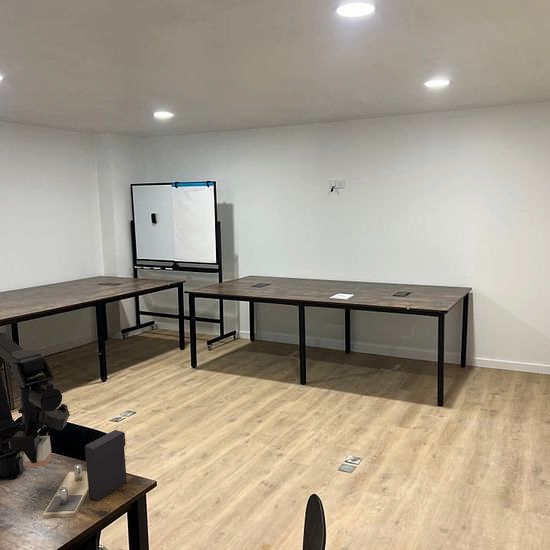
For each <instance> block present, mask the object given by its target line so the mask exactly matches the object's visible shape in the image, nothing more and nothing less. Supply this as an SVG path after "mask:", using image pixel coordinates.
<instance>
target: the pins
mask: <svg viewBox="0 0 550 550" xmlns="http://www.w3.org/2000/svg"><path fill="white" fill-rule="evenodd" d="M82 468H83V467H82V464H81V463H80V464H79V463H78V464H75V465H74V466H73V472H74V476H75V481H81V480H82V471H83V470H82ZM59 488H60V487H59ZM59 488H58V489H59ZM59 493H60V504H61V505H66V504H68V503H69V499H68V488H67V487H63V488H60V489H59Z"/></svg>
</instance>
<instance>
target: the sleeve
mask: <svg viewBox="0 0 550 550" xmlns="http://www.w3.org/2000/svg"><path fill="white" fill-rule="evenodd" d="M50 437H51V436H50V435H48V436H40V438H43V439H42V441H41V442H40V443H39V444H38V452H37V462H36V463H31V461H30V460H29V459H28V457H27V456H26V455H25V453H24V452H23V456H24V458H23V459H24V468H26V467H29V468H30V467H31V468H32V467H46V465H47V464H48V463H49V461H50V459H51V458H52V446H51V445H52V444H51V438H50Z"/></svg>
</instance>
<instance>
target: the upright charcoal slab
mask: <svg viewBox="0 0 550 550" xmlns="http://www.w3.org/2000/svg"><path fill="white" fill-rule="evenodd" d="M126 444H127V443H126V432H125V431H121V430H117V429H114V430H112V431H110V432H109V433H107V434H105V435H103V436H101V437H99V438H97V439H95V440H93V441H92V442H89V443H87V444H85V446H84V453H85V454H84V455H85V463H86V464H85V465H86V466H85V467H86V471H87V479H88V490H89V492H88V498H89V499H91V500H93V501H100V500H101V499H103V498H104V497H106V496H107V495H109V494H110V493H112V492H113V491H115V490H116V489H118V488H119V487H122V486H123V485H125V484H126V483H127V480H128V479H127V467H126V455H125V454H126V452H125V447H126Z"/></svg>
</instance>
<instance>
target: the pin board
mask: <svg viewBox="0 0 550 550" xmlns="http://www.w3.org/2000/svg"><path fill="white" fill-rule="evenodd" d="M63 487H67V488H68V499H69V503H68V504H66V505H61V504H60V493H59V489H60V488H63ZM88 494H89V490H88V479H87V470H84V471H83V470H82V480H81V481H75V476H74V471H68V473H67V475H66V476H65V478H64V480H63V481H62V482H61V484H60V486H59V488H58V489H57V491H56V493H55V494H54V496H53V497H52V499H51V500H50V502H49V504H48V505H47V507H46V508H45V510H44V512H43V513H42V519H59V518H73V517H76V516H77V515H78V513H79V511H80V509H81V507H82V505H83V502H84V501H85V499H86V497H87V496H88Z"/></svg>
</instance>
